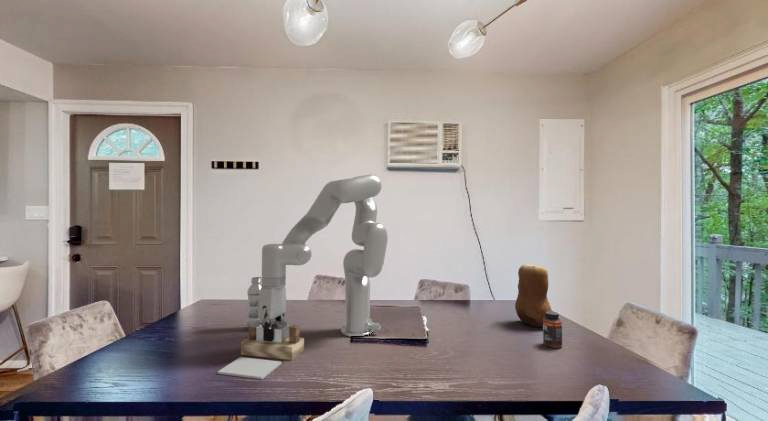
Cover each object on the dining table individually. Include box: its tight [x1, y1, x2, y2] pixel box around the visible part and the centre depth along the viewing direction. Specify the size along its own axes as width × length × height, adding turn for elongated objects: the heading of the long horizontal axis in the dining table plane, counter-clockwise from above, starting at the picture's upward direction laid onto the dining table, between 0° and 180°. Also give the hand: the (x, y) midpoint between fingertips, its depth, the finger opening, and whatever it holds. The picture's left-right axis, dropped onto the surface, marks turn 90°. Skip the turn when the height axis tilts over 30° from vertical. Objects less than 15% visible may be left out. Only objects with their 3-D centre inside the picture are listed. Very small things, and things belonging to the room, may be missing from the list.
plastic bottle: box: [246, 276, 262, 330], centre depth 132 cm, size 6×7×20 cm
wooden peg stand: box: [240, 324, 305, 361], centre depth 109 cm, size 18×8×9 cm, turn 77°
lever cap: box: [256, 320, 290, 344], centre depth 109 cm, size 9×5×6 cm, turn 77°
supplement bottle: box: [542, 311, 563, 349], centre depth 116 cm, size 6×6×11 cm
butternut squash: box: [514, 263, 553, 328], centre depth 138 cm, size 14×13×25 cm
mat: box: [217, 356, 282, 380], centre depth 97 cm, size 14×10×1 cm
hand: (273, 337), depth 109 cm, fingers closed on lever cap, 5 cm apart
